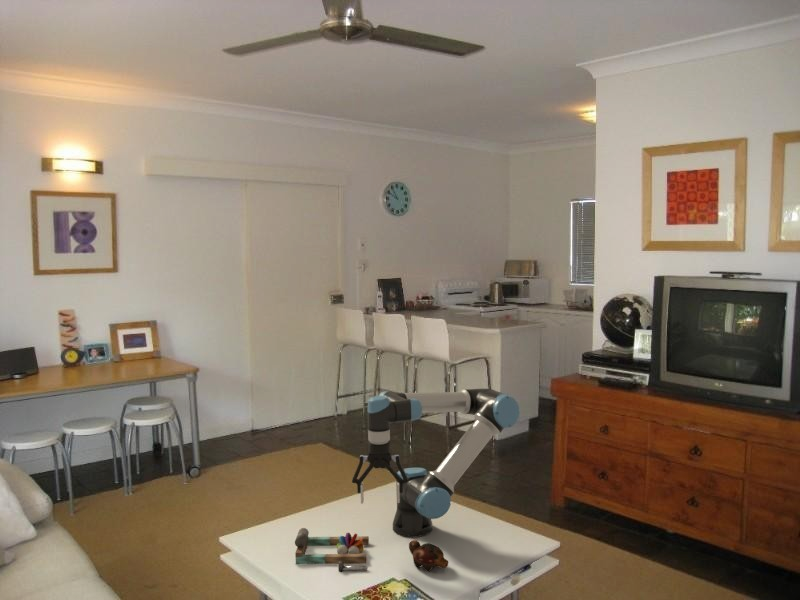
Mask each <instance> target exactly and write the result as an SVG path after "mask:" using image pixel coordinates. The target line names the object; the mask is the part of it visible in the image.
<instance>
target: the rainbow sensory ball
mask: <svg viewBox="0 0 800 600" xmlns="http://www.w3.org/2000/svg"><path fill="white" fill-rule="evenodd" d="M357 536H358V534H357V533H354V534H353V535H351V533H350V532H346V534H345V536H344V535H340V536H338V537H339V541H340V543H338V544H337V546H336V554H361V553H363V552H364V546H365V545H364V544H363V540H362V539H356V537H357ZM351 537H352V538H351ZM355 539H356V540H355Z"/></svg>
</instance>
